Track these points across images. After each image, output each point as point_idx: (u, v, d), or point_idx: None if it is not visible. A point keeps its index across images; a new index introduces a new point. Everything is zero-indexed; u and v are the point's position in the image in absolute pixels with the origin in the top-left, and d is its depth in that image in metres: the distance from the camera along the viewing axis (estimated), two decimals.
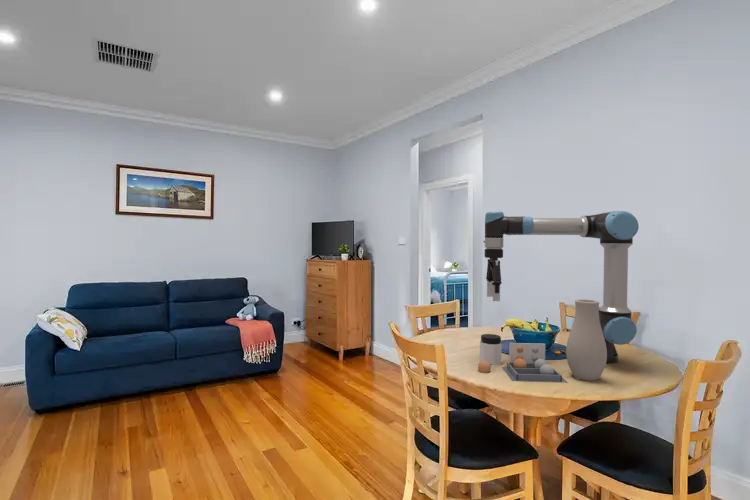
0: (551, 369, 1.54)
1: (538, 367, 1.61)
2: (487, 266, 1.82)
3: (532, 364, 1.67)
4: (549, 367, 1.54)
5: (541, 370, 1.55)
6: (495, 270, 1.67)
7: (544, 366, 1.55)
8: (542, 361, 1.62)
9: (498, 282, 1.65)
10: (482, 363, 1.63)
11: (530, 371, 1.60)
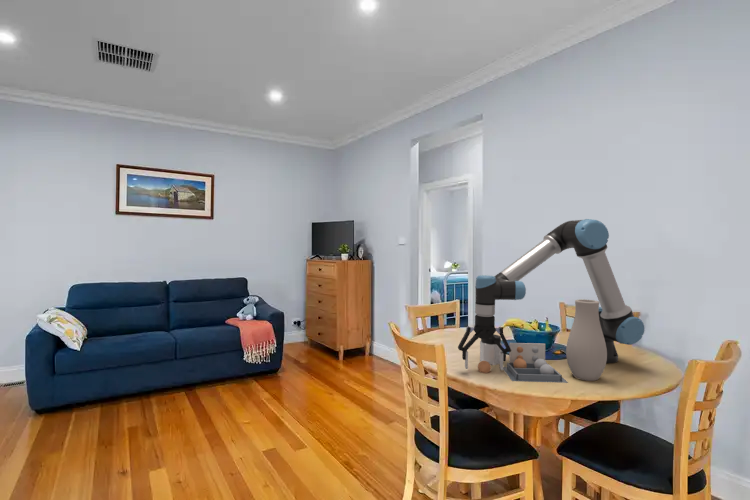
0: (551, 369, 1.54)
1: (538, 367, 1.61)
2: None
3: (532, 364, 1.67)
4: (549, 367, 1.54)
5: (541, 370, 1.55)
6: None
7: (544, 366, 1.55)
8: (542, 361, 1.62)
9: (458, 347, 1.64)
10: (482, 363, 1.63)
11: (530, 371, 1.60)
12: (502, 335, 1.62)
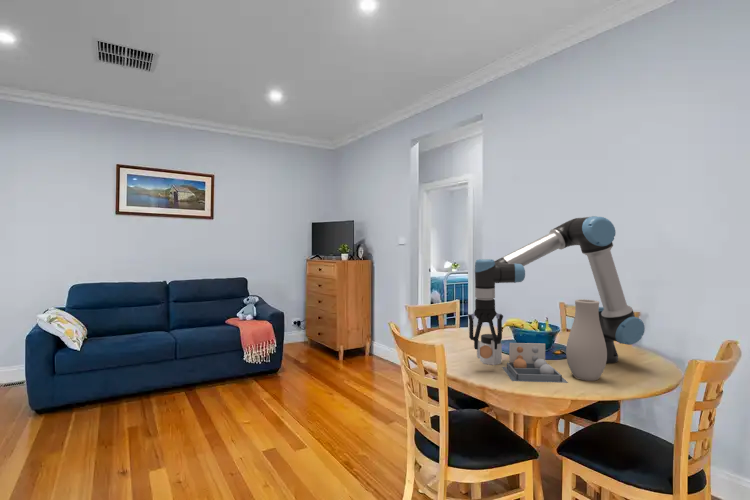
0: (551, 369, 1.54)
1: (538, 367, 1.61)
2: None
3: (532, 364, 1.67)
4: (549, 367, 1.54)
5: (541, 370, 1.55)
6: (469, 324, 1.65)
7: (544, 366, 1.55)
8: (542, 361, 1.62)
9: (470, 337, 1.64)
10: (483, 348, 1.62)
11: (530, 371, 1.60)
12: (500, 322, 1.62)
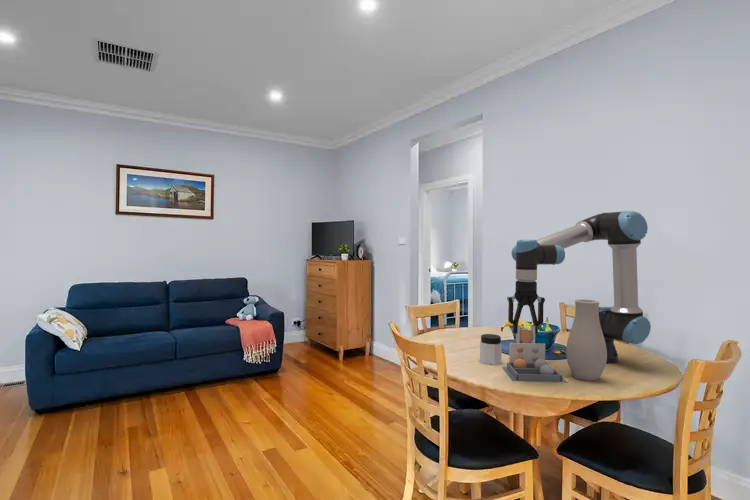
0: (551, 369, 1.54)
1: (538, 367, 1.61)
2: None
3: (532, 364, 1.67)
4: (549, 367, 1.54)
5: (541, 370, 1.55)
6: None
7: (544, 366, 1.55)
8: (542, 361, 1.62)
9: (509, 321, 1.57)
10: (523, 332, 1.55)
11: (530, 371, 1.60)
12: (541, 305, 1.54)
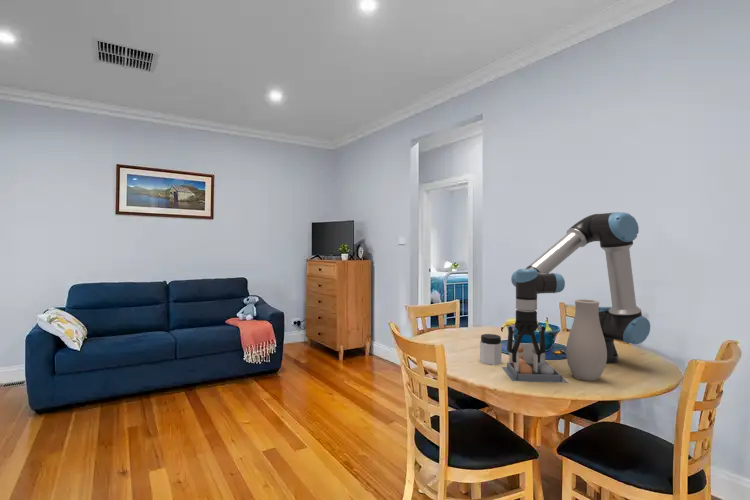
0: (551, 369, 1.54)
1: (538, 367, 1.61)
2: None
3: (532, 364, 1.67)
4: (549, 367, 1.54)
5: (541, 370, 1.55)
6: (508, 336, 1.57)
7: (544, 366, 1.55)
8: (542, 361, 1.62)
9: (508, 350, 1.57)
10: (523, 366, 1.55)
11: None
12: (542, 334, 1.55)
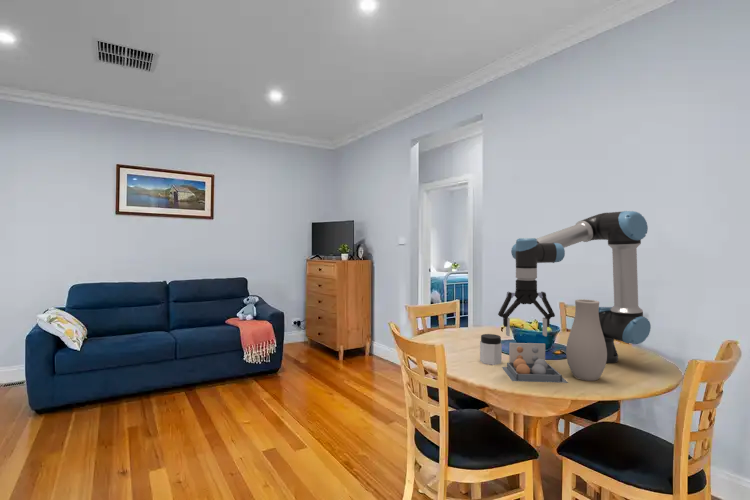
0: (538, 368, 1.54)
1: None
2: None
3: (532, 364, 1.67)
4: (535, 369, 1.55)
5: None
6: (504, 302, 1.57)
7: (533, 372, 1.56)
8: (542, 361, 1.62)
9: (499, 314, 1.57)
10: (519, 367, 1.56)
11: (530, 371, 1.60)
12: (545, 300, 1.54)
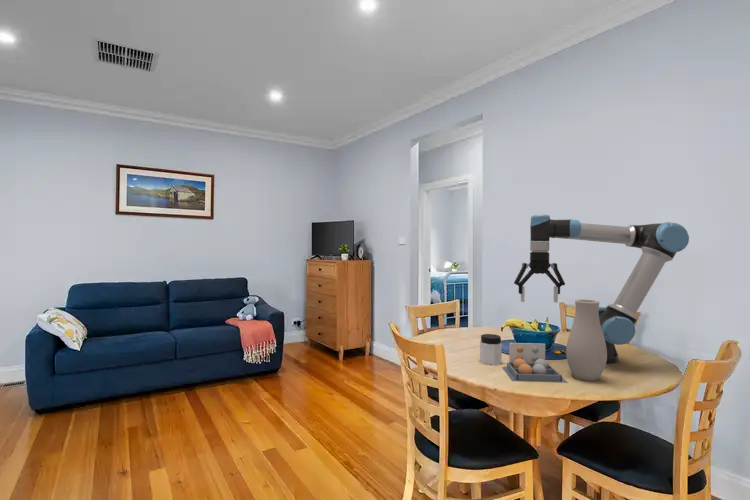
0: (539, 367, 1.55)
1: None
2: None
3: (532, 364, 1.67)
4: (536, 368, 1.55)
5: None
6: (519, 272, 1.76)
7: (533, 371, 1.56)
8: (542, 361, 1.62)
9: (515, 283, 1.76)
10: (523, 366, 1.55)
11: None
12: (556, 270, 1.73)
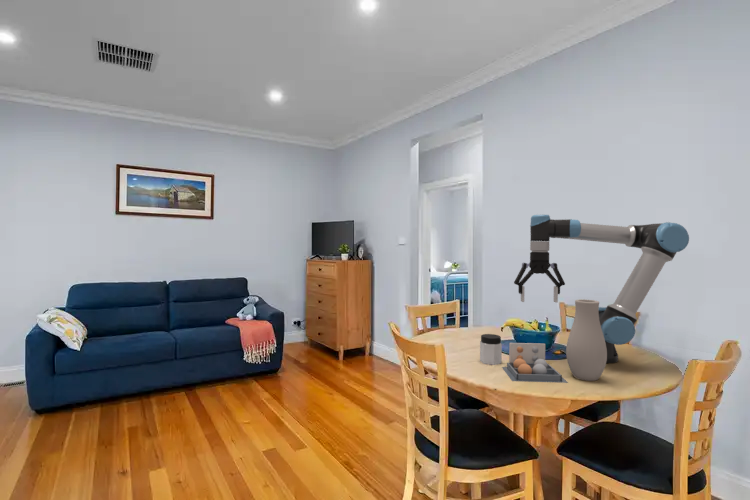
0: (539, 367, 1.55)
1: None
2: None
3: (532, 364, 1.67)
4: (537, 367, 1.55)
5: None
6: None
7: (534, 370, 1.56)
8: (542, 361, 1.62)
9: (515, 282, 1.76)
10: (522, 366, 1.56)
11: None
12: (556, 270, 1.73)
